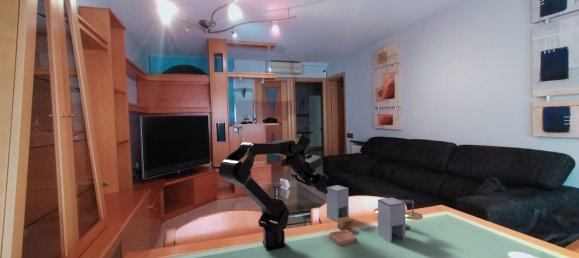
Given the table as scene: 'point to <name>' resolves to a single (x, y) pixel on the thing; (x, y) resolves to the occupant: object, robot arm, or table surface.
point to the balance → (408, 213)
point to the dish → (343, 237)
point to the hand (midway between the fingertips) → (320, 189)
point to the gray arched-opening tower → (391, 218)
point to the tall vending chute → (337, 202)
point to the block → (344, 223)
